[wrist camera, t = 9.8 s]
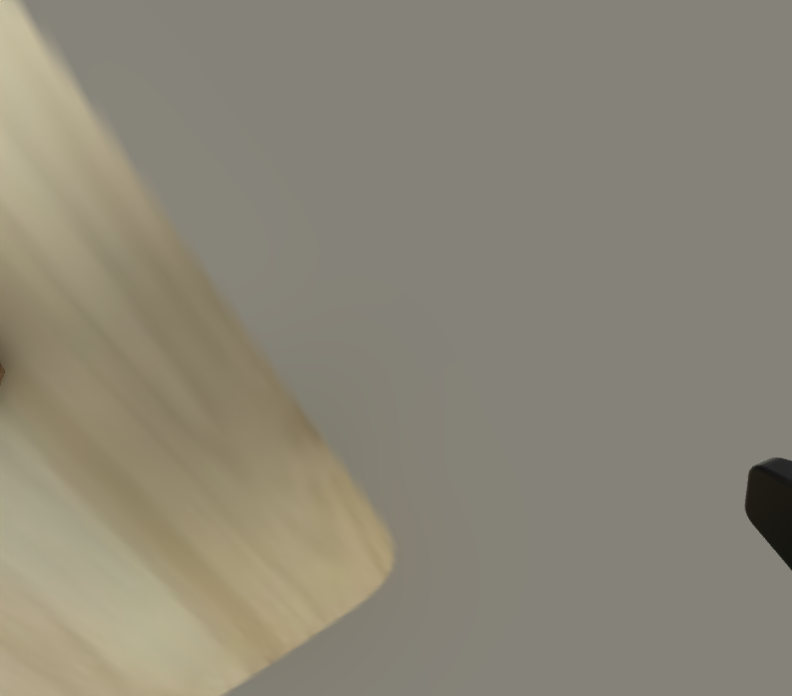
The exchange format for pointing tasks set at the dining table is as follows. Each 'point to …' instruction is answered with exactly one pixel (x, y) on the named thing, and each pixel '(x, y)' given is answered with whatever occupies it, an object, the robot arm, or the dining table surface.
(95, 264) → the dining table surface
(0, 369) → the walnut block
